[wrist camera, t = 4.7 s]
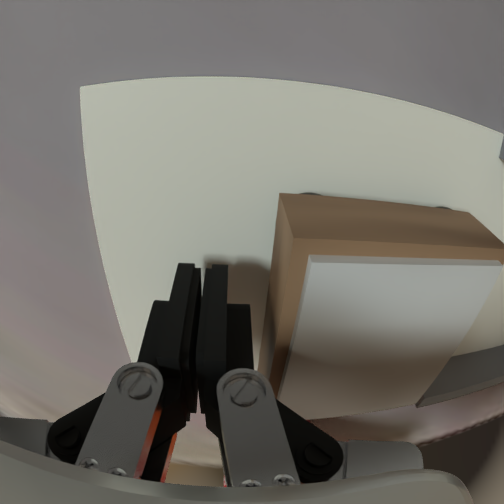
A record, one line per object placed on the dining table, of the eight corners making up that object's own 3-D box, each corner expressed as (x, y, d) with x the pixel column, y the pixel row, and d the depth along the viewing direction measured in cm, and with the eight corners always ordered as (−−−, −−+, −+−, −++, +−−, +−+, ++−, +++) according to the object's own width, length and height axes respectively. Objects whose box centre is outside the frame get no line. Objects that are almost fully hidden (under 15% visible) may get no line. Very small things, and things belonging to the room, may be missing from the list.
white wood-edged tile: (275, 180, 10) (295, 245, 6) (454, 200, 10) (515, 255, 7) (256, 352, 14) (261, 426, 11) (393, 345, 14) (418, 406, 11)
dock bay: (86, 85, 8) (35, 97, 5) (592, 181, 10) (621, 202, 7) (139, 372, 15) (130, 419, 13) (515, 343, 17) (531, 370, 15)
